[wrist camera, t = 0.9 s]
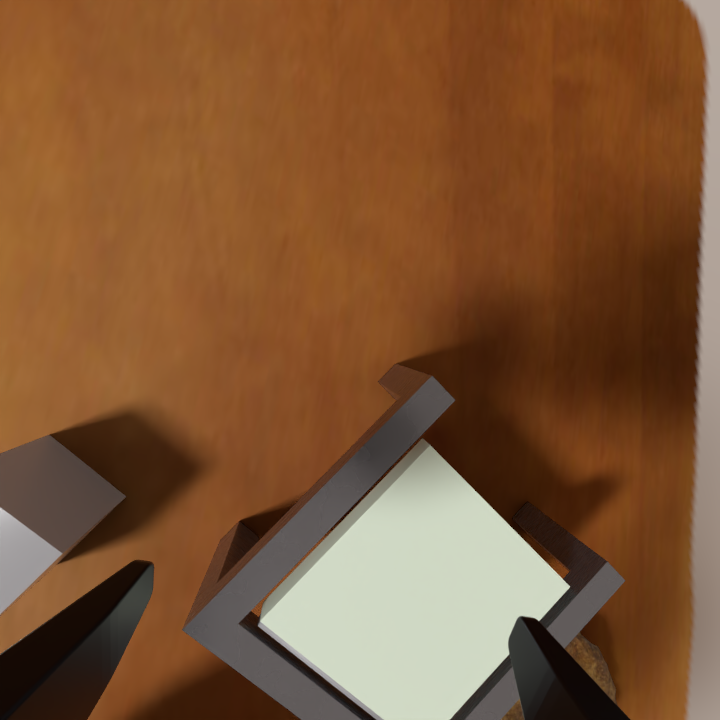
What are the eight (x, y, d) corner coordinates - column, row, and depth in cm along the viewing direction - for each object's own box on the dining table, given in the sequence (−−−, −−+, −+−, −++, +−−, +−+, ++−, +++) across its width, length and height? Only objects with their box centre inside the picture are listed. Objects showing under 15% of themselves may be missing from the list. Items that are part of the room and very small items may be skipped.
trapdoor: (408, 732, 17) (415, 757, 16) (255, 610, 15) (252, 629, 14) (555, 572, 17) (570, 586, 16) (422, 438, 16) (430, 445, 15)
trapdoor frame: (389, 679, 22) (420, 809, 16) (220, 540, 19) (182, 630, 14) (541, 516, 23) (625, 580, 17) (395, 363, 20) (432, 375, 14)
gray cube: (57, 563, 18) (-34, 647, 13) (-24, 504, 18) (-153, 569, 13) (127, 495, 19) (62, 553, 14) (50, 434, 18) (-48, 472, 13)
